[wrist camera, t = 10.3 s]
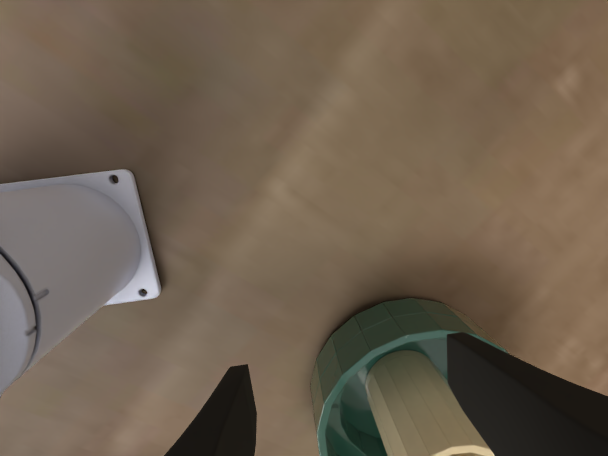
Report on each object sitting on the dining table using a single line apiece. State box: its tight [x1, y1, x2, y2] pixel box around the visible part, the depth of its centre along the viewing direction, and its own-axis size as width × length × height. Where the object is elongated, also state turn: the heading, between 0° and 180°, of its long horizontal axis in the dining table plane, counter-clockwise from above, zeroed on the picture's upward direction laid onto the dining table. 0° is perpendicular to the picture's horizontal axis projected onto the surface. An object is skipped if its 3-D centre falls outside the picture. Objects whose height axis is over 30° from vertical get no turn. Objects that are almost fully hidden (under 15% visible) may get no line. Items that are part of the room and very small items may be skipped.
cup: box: [365, 350, 495, 456], centre depth 19 cm, size 5×5×8 cm
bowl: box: [310, 298, 509, 456], centre depth 21 cm, size 13×13×4 cm
